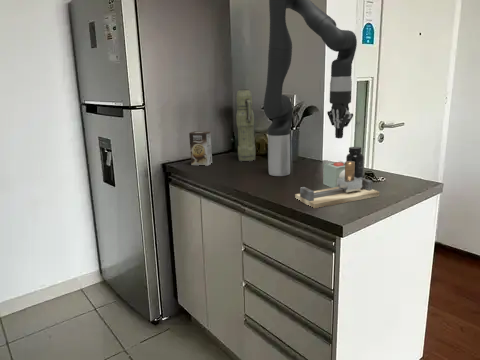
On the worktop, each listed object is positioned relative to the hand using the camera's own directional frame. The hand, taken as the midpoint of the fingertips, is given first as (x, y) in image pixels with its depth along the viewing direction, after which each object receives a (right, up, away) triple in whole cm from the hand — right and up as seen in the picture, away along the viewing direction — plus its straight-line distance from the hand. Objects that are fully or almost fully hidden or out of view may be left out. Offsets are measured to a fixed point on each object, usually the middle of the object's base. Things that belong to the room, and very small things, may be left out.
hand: (338, 137), depth 143 cm
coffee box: (-55, -8, +50) cm, 75 cm away
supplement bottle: (+10, -14, +16) cm, 24 cm away
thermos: (-33, -5, +56) cm, 65 cm away
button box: (+1, -17, +5) cm, 18 cm away
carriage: (+2, -19, -8) cm, 20 cm away
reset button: (+1, -13, +4) cm, 14 cm away
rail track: (-3, -21, -9) cm, 23 cm away
